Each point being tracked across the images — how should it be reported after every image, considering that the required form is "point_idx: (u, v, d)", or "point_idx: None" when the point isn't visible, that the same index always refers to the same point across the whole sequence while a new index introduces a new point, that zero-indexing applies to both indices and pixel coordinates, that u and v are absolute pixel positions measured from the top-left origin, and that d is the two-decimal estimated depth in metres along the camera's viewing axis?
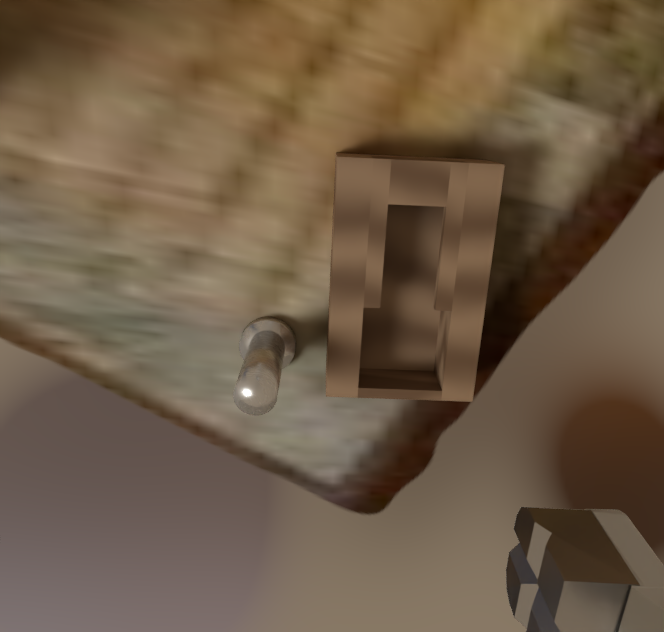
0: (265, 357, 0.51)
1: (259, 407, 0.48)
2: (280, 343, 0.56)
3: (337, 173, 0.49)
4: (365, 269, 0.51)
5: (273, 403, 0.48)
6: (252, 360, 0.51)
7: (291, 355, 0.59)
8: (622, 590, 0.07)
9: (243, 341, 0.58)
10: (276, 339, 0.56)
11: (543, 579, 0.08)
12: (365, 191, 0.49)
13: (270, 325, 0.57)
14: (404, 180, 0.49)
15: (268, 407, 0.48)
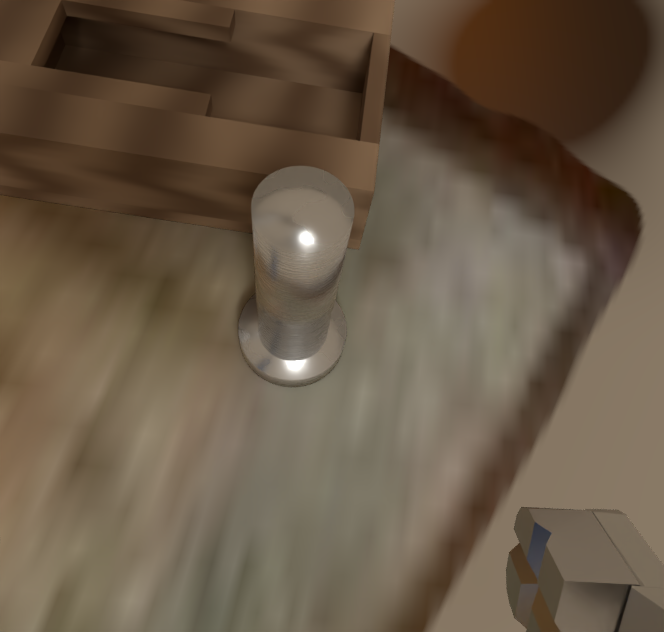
0: None
1: (334, 203, 0.20)
2: None
3: None
4: (135, 105, 0.29)
5: (326, 175, 0.21)
6: (254, 263, 0.23)
7: None
8: (622, 590, 0.07)
9: (276, 369, 0.29)
10: None
11: (544, 579, 0.08)
12: None
13: (249, 316, 0.30)
14: None
15: (335, 185, 0.21)
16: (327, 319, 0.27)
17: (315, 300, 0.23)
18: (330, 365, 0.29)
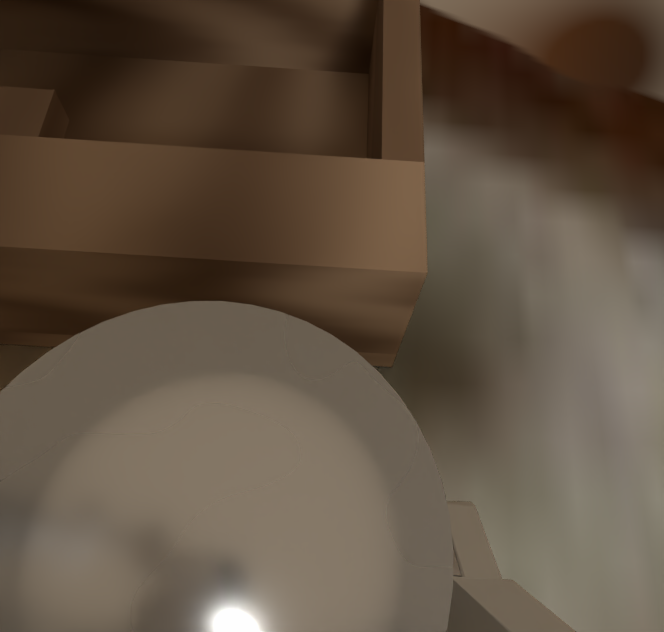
0: None
1: (344, 490, 0.04)
2: None
3: None
4: None
5: (296, 336, 0.05)
6: None
7: None
8: None
9: None
10: None
11: None
12: None
13: None
14: None
15: (343, 387, 0.04)
16: None
17: None
18: None
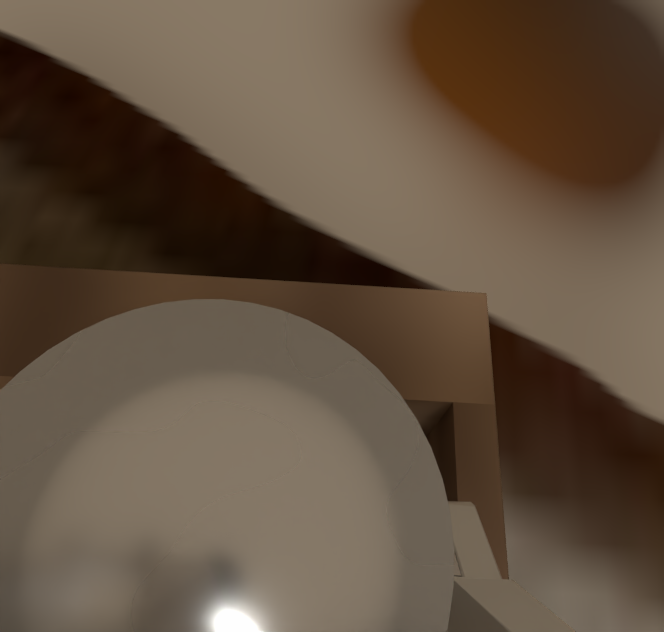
0: None
1: (345, 488, 0.04)
2: None
3: None
4: None
5: (297, 334, 0.05)
6: None
7: None
8: None
9: None
10: None
11: None
12: None
13: None
14: None
15: (343, 386, 0.04)
16: None
17: None
18: None
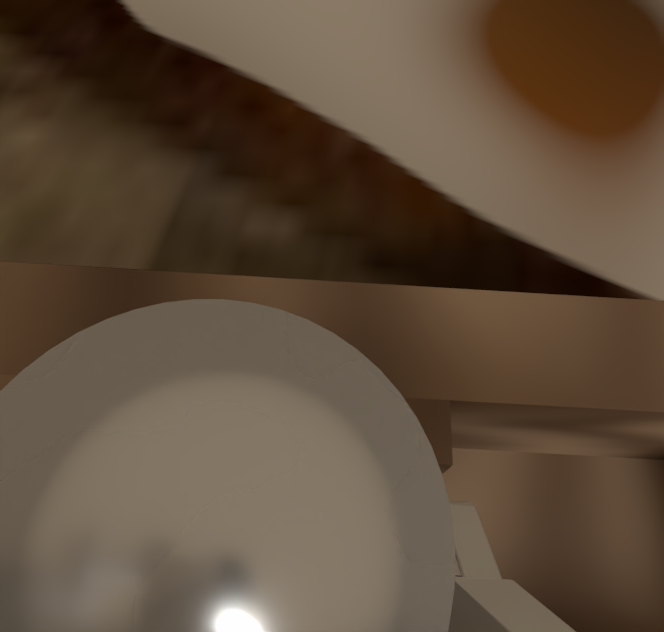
0: None
1: (346, 488, 0.04)
2: None
3: None
4: None
5: (298, 334, 0.05)
6: None
7: None
8: None
9: None
10: None
11: None
12: None
13: None
14: None
15: (344, 386, 0.04)
16: None
17: None
18: None
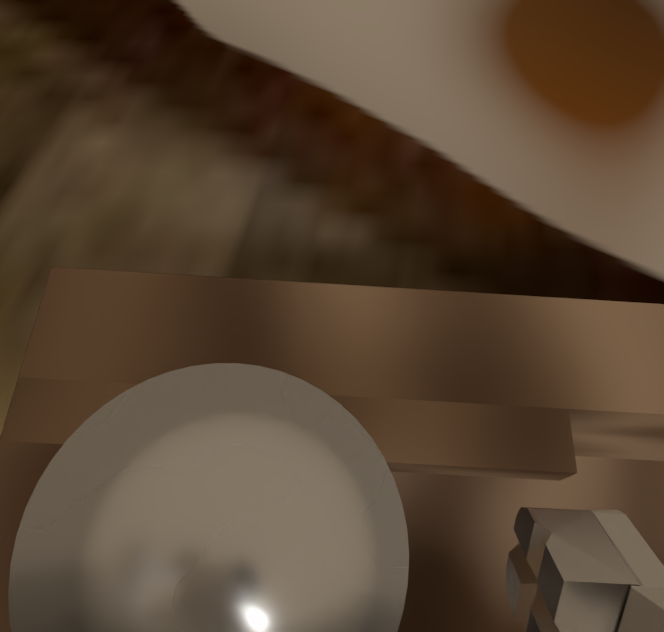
0: None
1: (329, 510, 0.06)
2: None
3: None
4: None
5: (294, 391, 0.06)
6: None
7: None
8: (622, 590, 0.07)
9: None
10: None
11: (543, 579, 0.08)
12: None
13: None
14: None
15: (328, 432, 0.06)
16: None
17: None
18: None
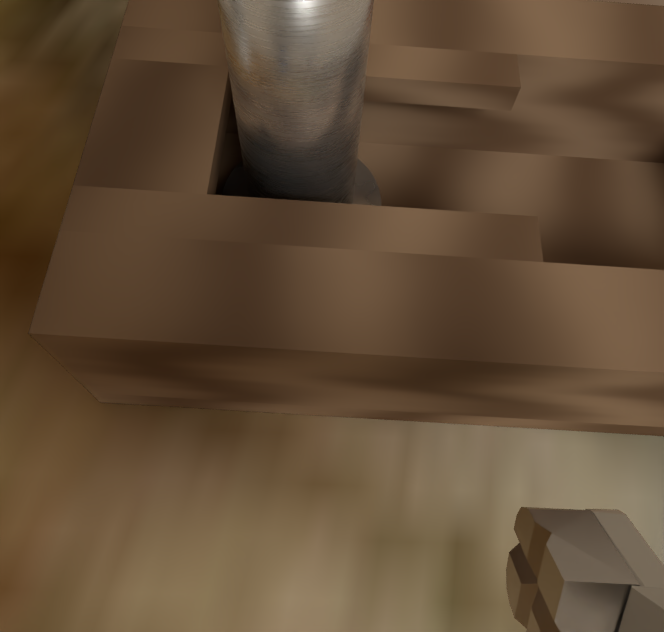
0: None
1: None
2: None
3: (84, 333, 0.14)
4: (413, 255, 0.16)
5: None
6: (221, 22, 0.13)
7: None
8: (622, 590, 0.07)
9: None
10: None
11: (544, 579, 0.08)
12: (158, 251, 0.15)
13: (235, 190, 0.20)
14: (141, 154, 0.17)
15: None
16: (352, 150, 0.17)
17: (331, 76, 0.14)
18: None
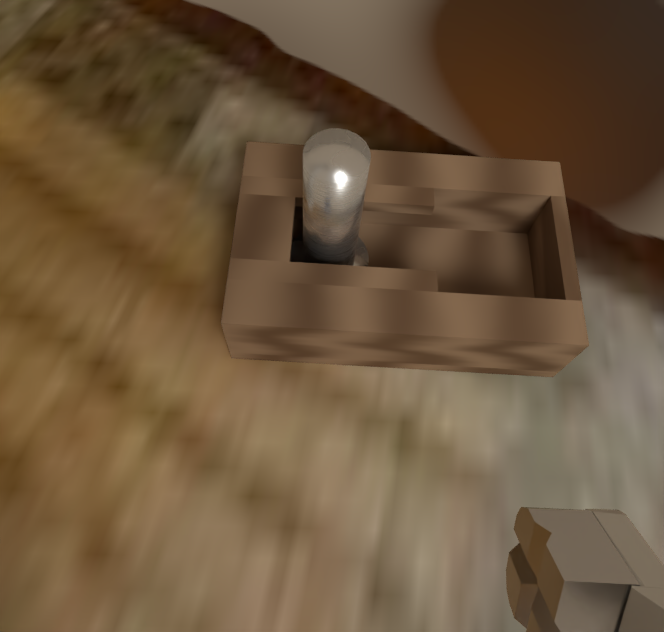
0: None
1: (356, 150, 0.31)
2: None
3: (243, 323, 0.34)
4: (381, 289, 0.36)
5: (348, 132, 0.31)
6: (304, 201, 0.33)
7: None
8: (622, 590, 0.07)
9: None
10: None
11: (544, 579, 0.08)
12: (270, 288, 0.36)
13: (295, 253, 0.41)
14: (258, 243, 0.37)
15: (355, 138, 0.31)
16: (355, 241, 0.37)
17: (348, 222, 0.34)
18: None
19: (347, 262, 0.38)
